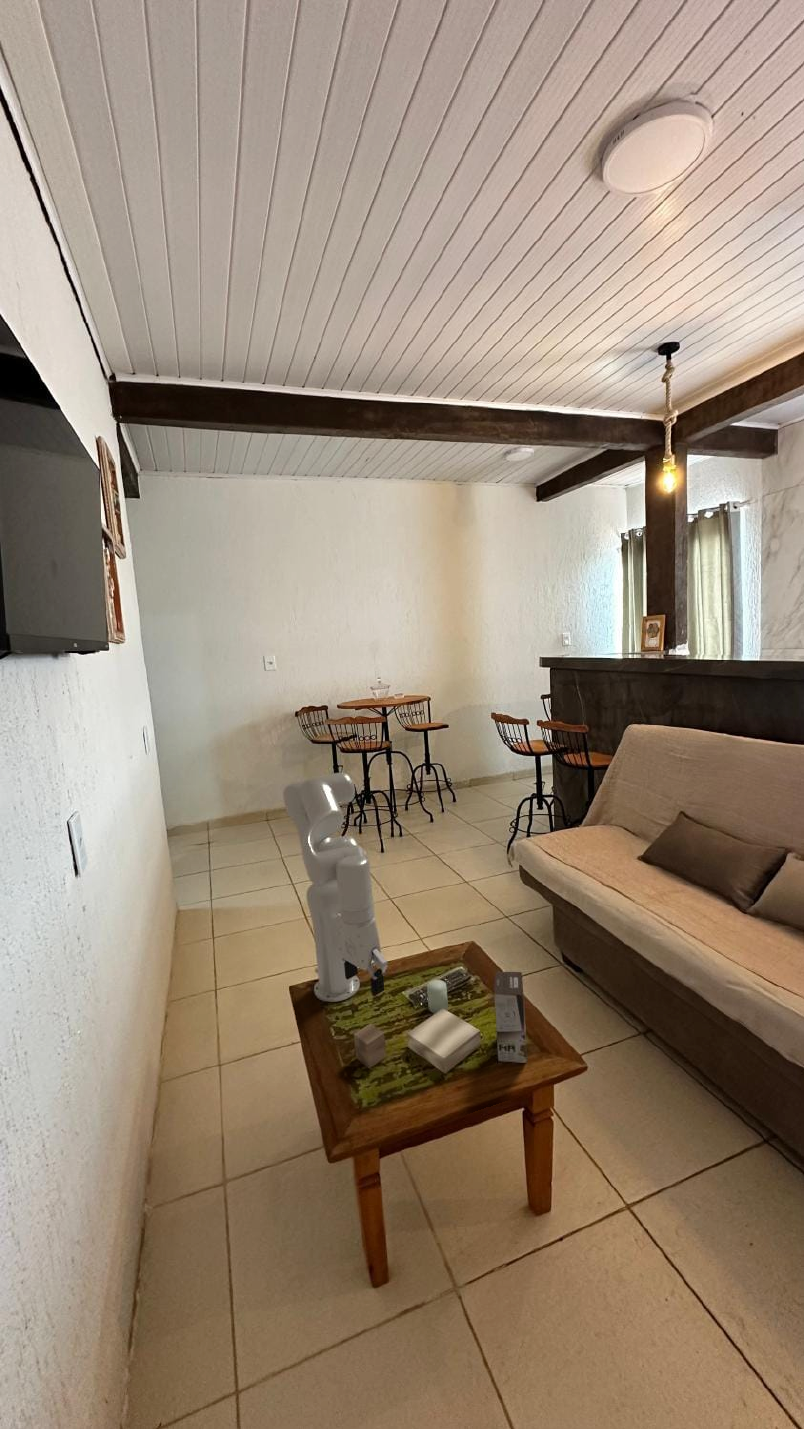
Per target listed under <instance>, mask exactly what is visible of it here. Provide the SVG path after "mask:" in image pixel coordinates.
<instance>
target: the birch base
mask: <svg viewBox="0 0 804 1429" xmlns="http://www.w3.org/2000/svg"><path fill="white" fill-rule="evenodd" d="M406 1034H407V1046H408V1048H409V1049H410V1050H411V1051H412V1052H414V1053H416V1054H418V1056H420V1057H422V1058H423V1059H424V1060H426V1062H429V1063H430V1064H431V1065H432V1066H434V1067H435V1068H436V1069H438V1070H439V1071H441V1072H442V1073H444V1074H447V1073H448V1072H449V1071H450V1070H452V1069H453V1068H454V1067H455V1066H457V1065H458V1064H460V1062H462V1061H463V1060H465V1058H467V1057H469V1055H471V1054H472V1053H473V1052H474V1051H476V1049H478V1048H479V1047H481V1046H482V1038H481V1030H480V1029H478V1028H476V1027H475V1026H473V1025H472V1024H470V1023H468V1022H467V1021H465V1020H463V1019H461V1018H460V1017H458V1016H457V1015H455V1014H453V1013H452V1012H450V1011H448V1009H447V1010H445V1009H441V1010H440V1011H438V1012H437V1013H436V1014H435V1013H433V1015H431V1016H430V1017H428V1018H427V1019H425V1020H424V1021H423V1022H421V1023H420V1024H419V1025H417V1026H415V1027H414V1028H413V1029H411V1030H410V1031H408V1032H407V1033H406Z"/></svg>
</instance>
